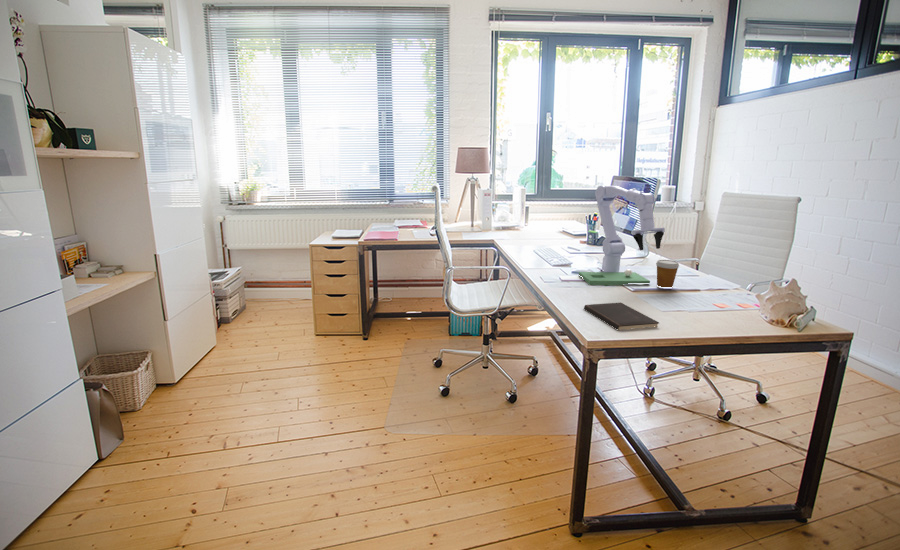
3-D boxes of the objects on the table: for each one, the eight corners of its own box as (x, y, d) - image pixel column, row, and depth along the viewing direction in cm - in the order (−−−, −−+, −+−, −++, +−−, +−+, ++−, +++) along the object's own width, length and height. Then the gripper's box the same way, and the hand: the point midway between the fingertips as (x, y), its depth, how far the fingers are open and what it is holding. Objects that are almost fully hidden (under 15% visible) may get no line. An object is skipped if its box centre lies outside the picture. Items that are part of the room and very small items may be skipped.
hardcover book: (620, 307, 187) (621, 302, 186) (658, 328, 165) (659, 322, 165) (583, 310, 183) (584, 304, 183) (617, 332, 162) (618, 325, 161)
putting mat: (578, 276, 232) (579, 272, 232) (634, 276, 234) (635, 272, 233) (589, 284, 217) (590, 280, 216) (649, 285, 218) (650, 280, 218)
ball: (622, 275, 227) (623, 268, 226) (630, 275, 227) (630, 268, 226) (625, 277, 223) (626, 270, 223) (633, 277, 224) (634, 270, 223)
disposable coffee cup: (679, 290, 210) (683, 264, 207) (658, 290, 210) (661, 263, 207) (670, 285, 219) (674, 259, 216) (649, 284, 219) (652, 259, 216)
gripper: (634, 219, 212) (638, 250, 211) (666, 216, 212) (669, 247, 212) (628, 221, 219) (631, 251, 218) (659, 219, 219) (662, 248, 219)
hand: (649, 249), depth 216 cm, fingers open, 7 cm apart
